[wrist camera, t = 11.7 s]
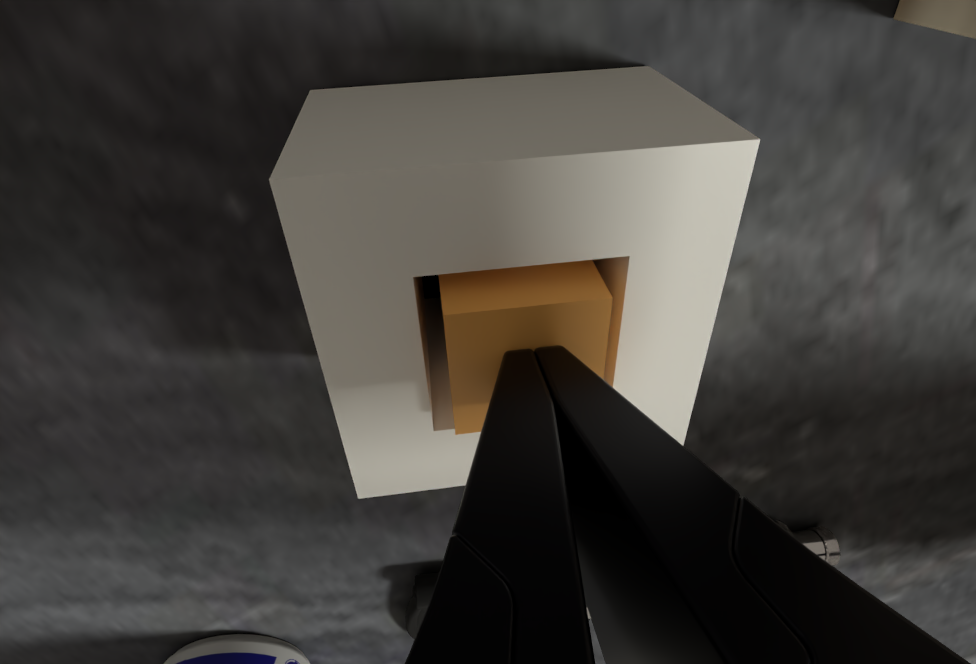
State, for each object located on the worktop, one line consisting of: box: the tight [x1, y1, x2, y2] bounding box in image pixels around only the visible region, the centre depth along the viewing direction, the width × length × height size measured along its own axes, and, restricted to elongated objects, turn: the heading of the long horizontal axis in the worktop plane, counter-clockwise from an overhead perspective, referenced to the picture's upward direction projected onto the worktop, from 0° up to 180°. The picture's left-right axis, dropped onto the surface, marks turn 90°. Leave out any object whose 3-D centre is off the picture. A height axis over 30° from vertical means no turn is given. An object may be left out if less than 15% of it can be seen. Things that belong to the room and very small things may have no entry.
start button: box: [438, 260, 613, 435], centre depth 10 cm, size 2×2×3 cm
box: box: [269, 66, 760, 499], centre depth 10 cm, size 6×6×4 cm
